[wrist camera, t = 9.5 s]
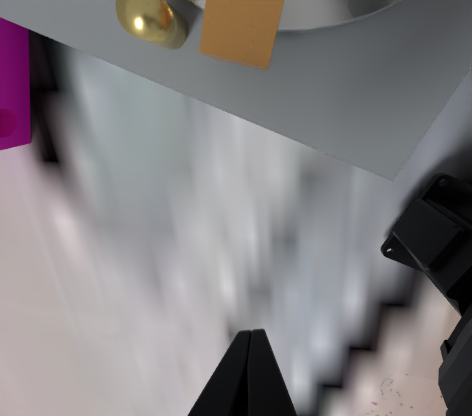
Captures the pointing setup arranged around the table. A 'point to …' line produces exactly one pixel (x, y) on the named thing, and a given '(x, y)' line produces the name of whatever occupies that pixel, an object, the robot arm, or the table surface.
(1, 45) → the toy block
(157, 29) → the dowel
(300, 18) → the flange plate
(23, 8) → the jig block
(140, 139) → the table surface
